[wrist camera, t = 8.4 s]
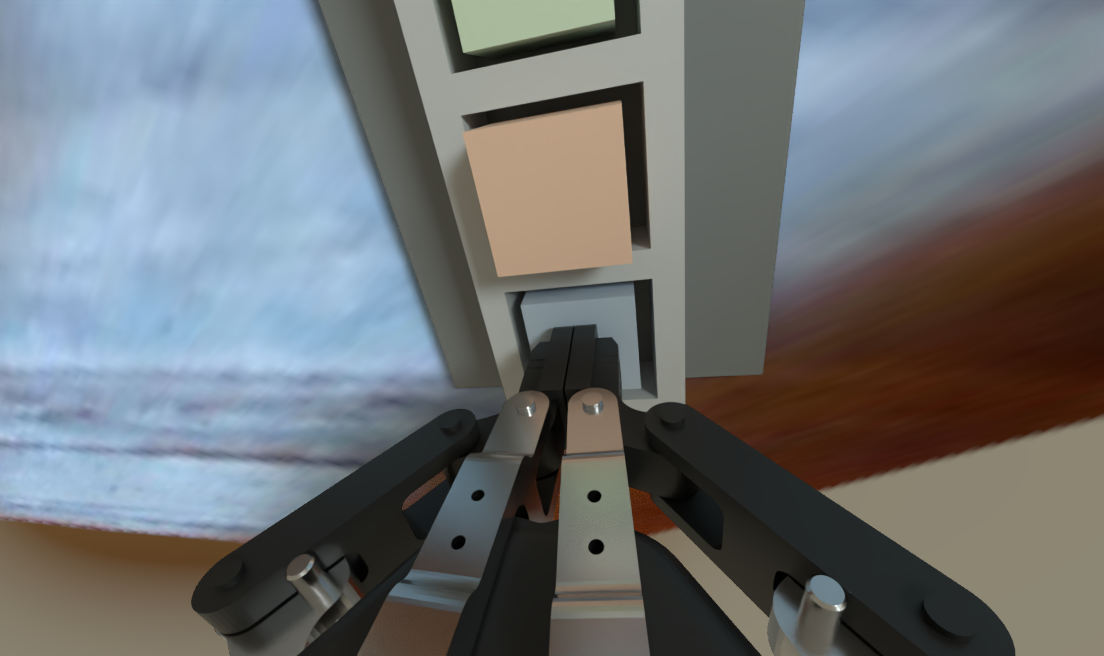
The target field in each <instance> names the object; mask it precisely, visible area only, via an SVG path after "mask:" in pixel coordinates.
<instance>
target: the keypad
mask: <svg viewBox="0 0 1104 656" xmlns="http://www.w3.org/2000/svg"><path fill="white" fill-rule="evenodd" d="M318 1H319V4H320V7H321V10H322V12H323V15H324V18H325V21H326V24H327V26H328V29H329V32H330V35H331V38H332V41H333V43H334V46H335V49H336V52H337V55H338V57H339V60H340V63H341V66H342V69H343V72H344V74H345V77H346V80H347V83H348V86H349V88H350V91H351V94H352V97H353V100H354V103H355V105H356V108H357V111H358V114H359V117H360V119H361V122H362V125H363V128H364V131H365V134H366V136H367V139H368V142H369V145H370V148H371V150H372V153H373V156H374V159H375V162H376V165H377V167H378V170H379V173H380V176H381V179H382V181H383V184H384V187H385V190H386V193H387V196H388V198H389V201H390V204H391V207H392V210H393V212H394V215H395V218H396V221H397V224H398V227H399V229H400V232H401V235H402V238H403V241H404V243H405V246H406V249H407V252H408V255H409V258H410V260H411V263H412V266H413V269H414V272H415V274H416V277H417V280H418V283H419V286H420V289H421V291H422V294H423V297H424V300H425V303H426V305H427V308H428V311H429V314H430V317H431V320H432V322H433V325H434V328H435V331H436V334H437V337H438V339H439V342H440V345H441V348H442V351H443V353H444V356H445V359H446V362H447V365H448V368H449V370H450V373H451V376H452V379H453V382H454V384H455V387H456V388H475V387H496V386H503V389H504V393H505V396H506V400H508V399H509V398H510V397H512V396H513V395H515V394H517V393H518V392H519V389H520V386H521V383H522V379H523V376H524V373H525V370H526V367H527V363H528V362H529V357H530V354H531V349H530V345H529V341H528V336H527V332H526V327H525V323H524V319H523V314H522V310H521V303H522V301H523V299H524V296H525V294H526V292H527V290H538V289H548V288H559V287H570V286H580V285H591V284H601V283H612V282H623V281H633V283H634V294H635V308H636V323H637V337H638V351H639V365H640V379H641V389H622V401H623V402H624V403H625V404H626V405H627V406H629V407H631V408H633V409H635V410H639V411H643V412H647V411H648V410H649V409H650V408H651V407H653V406H655V405H657V404H660V403H664V402H678V403H682V404H685V378H692V377H714V376H736V375H758V374H763V367H764V358H765V350H766V341H767V332H768V323H769V315H770V306H771V297H772V288H773V279H774V271H775V262H776V253H777V244H778V236H779V227H780V218H781V209H782V200H783V192H784V183H785V174H786V165H787V156H788V148H789V139H790V130H791V121H792V113H793V104H794V95H795V86H796V77H797V69H798V60H799V51H800V42H801V34H802V25H803V16H804V7H805V0H614V10H615V33H611V34H607V35H602V36H597V37H593V38H588V39H584V40H579V41H574V42H570V43H565V44H560V45H556V46H551V47H546V48H542V49H537V50H533V51H528V52H523V53H519V54H514V55H509V56H505V57H500V58H495V59H489V58H484V57H480V56H475V55H471V54H466V53H463V49H462V45H461V41H460V36H459V32H458V27H457V23H456V19H455V14H454V10H453V5H452V1H451V0H318ZM618 100H621V103H622V117H623V131H624V145H625V160H626V174H627V188H628V203H629V217H630V231H631V246H632V260H633V263H632V264H622V265H612V266H603V267H593V268H583V269H573V270H563V271H554V272H544V273H534V274H524V275H515V276H505V277H498V275H497V271H496V267H495V263H494V259H493V255H492V250H491V246H490V242H489V238H488V234H487V230H486V226H485V222H484V218H483V214H482V210H481V206H480V202H479V198H478V194H477V190H476V186H475V182H474V178H473V174H472V170H471V166H470V162H469V158H468V154H467V150H466V145H465V141H464V137H463V133H462V132H465V131H469V130H472V129H475V128H479V127H482V126H485V125H489V124H492V123H497V122H502V121H508V120H513V119H519V118H524V117H530V116H535V115H541V114H546V113H552V112H557V111H563V110H568V109H574V108H579V107H585V106H590V105H596V104H601V103H607V102H612V101H618Z"/></svg>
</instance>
